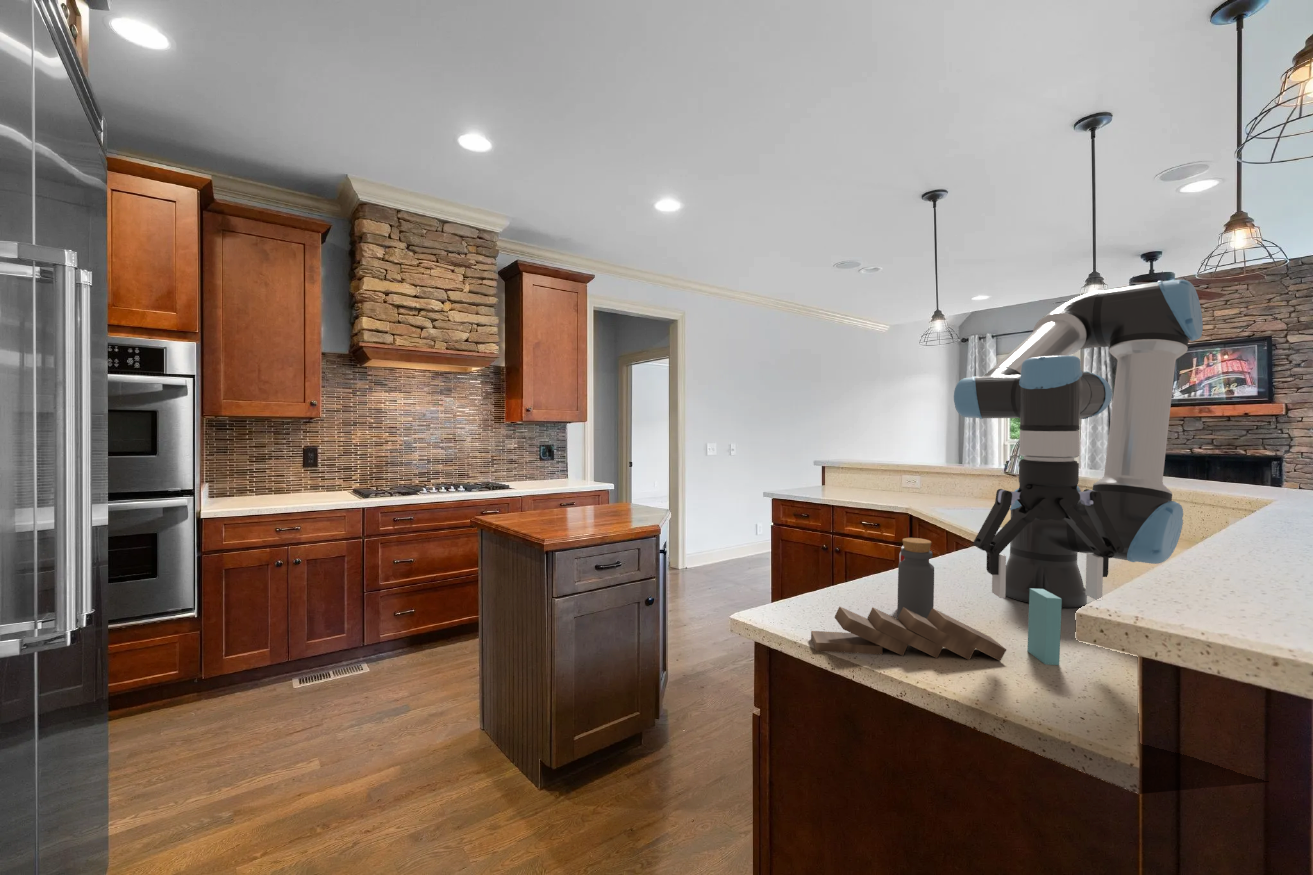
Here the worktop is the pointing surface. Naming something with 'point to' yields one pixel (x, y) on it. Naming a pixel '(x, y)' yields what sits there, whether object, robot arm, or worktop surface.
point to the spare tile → (1044, 626)
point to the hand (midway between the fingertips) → (1045, 596)
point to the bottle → (916, 577)
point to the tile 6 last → (843, 643)
